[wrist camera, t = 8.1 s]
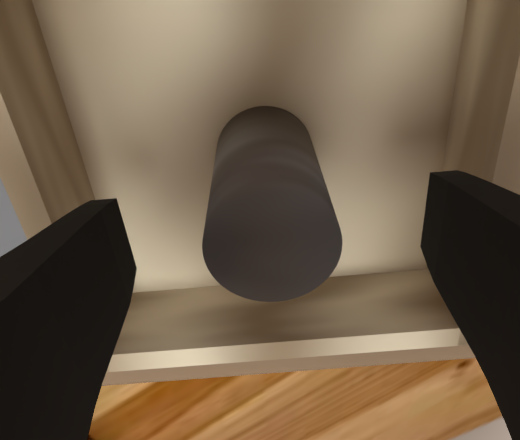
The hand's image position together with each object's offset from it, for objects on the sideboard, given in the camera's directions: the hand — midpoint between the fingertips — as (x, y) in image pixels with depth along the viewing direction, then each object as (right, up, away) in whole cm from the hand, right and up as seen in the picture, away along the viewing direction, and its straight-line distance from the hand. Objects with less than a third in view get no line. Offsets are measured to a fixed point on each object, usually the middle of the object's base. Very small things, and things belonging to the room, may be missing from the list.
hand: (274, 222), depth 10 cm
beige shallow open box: (0, +2, +4) cm, 5 cm away
